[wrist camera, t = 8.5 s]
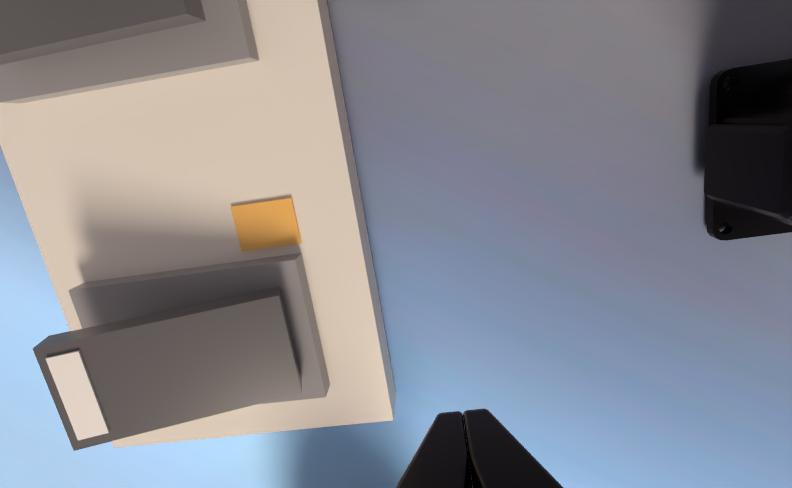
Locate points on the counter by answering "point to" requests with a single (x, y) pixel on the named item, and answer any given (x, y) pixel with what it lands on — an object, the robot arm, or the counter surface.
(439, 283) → the counter surface
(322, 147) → the switch panel
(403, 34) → the counter surface
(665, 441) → the counter surface
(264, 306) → the rocker
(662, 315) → the counter surface
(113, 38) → the rocker
